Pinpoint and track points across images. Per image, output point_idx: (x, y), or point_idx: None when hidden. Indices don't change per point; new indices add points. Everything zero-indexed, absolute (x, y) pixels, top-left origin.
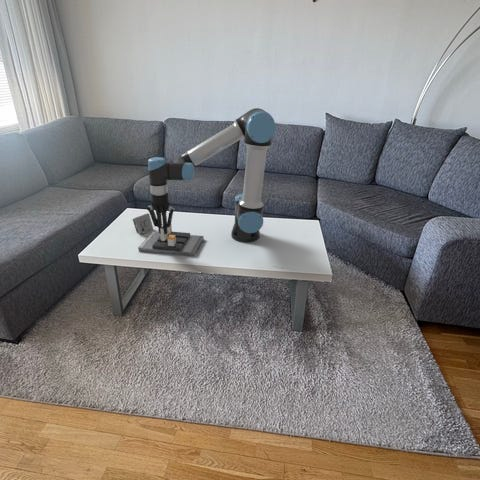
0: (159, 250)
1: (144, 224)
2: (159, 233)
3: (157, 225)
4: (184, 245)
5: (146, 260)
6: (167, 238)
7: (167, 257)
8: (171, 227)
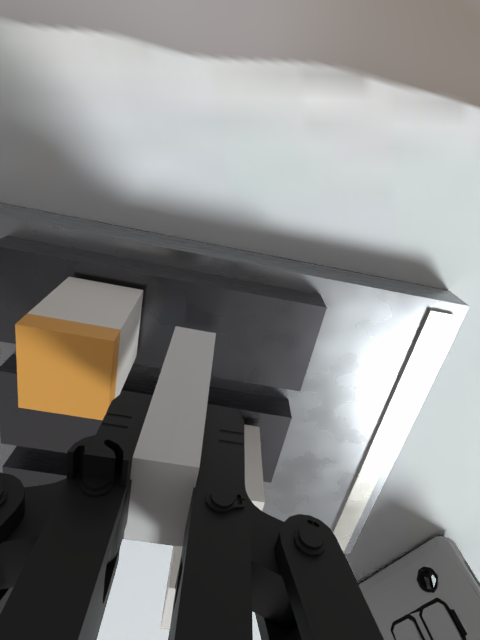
0: (244, 260)
1: (424, 631)
2: (234, 410)
3: (259, 540)
4: (5, 342)
5: (365, 99)
6: (116, 334)
7: (150, 164)
8: (167, 583)
